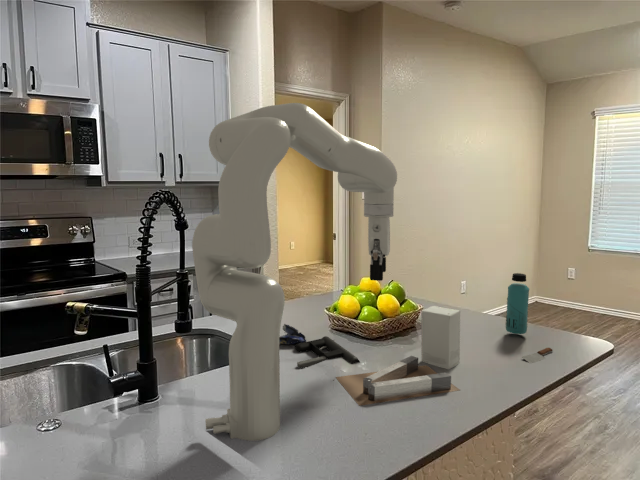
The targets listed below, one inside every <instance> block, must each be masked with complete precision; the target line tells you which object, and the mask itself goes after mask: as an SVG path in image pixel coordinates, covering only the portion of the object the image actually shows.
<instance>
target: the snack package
mask: <svg viewBox="0 0 640 480" xmlns="http://www.w3.org/2000/svg"><path fill="white" fill-rule="evenodd" d="M282 330H283V331H284V333H285V334H283V335H280V339H279V345H294V344H298V343H303V342H307V339H306V336H305V335H304V334H303V333H302V332H299V329H297V328H295V327H294V326H291V325H290V324H286V323H284V324H283V325H282Z"/></svg>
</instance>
